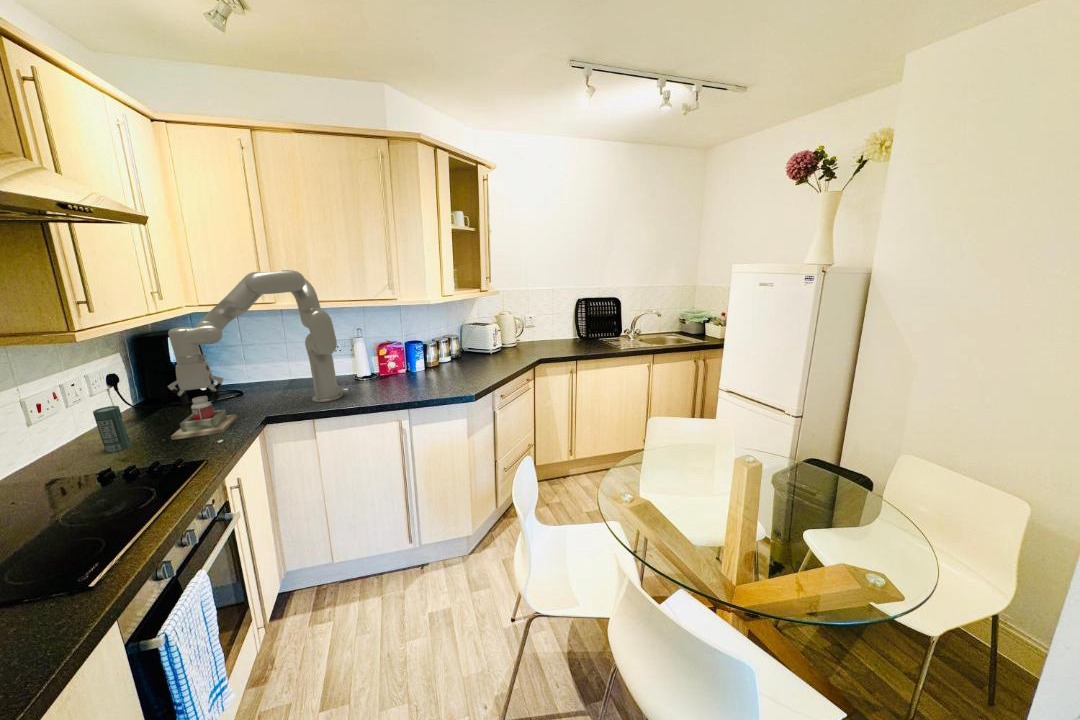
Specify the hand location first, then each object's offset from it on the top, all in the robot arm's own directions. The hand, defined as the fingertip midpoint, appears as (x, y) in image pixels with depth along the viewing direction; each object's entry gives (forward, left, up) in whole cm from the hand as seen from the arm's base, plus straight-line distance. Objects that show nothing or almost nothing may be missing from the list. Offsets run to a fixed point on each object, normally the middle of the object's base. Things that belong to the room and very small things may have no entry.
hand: (201, 402), depth 159 cm
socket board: (+1, 0, -11) cm, 11 cm away
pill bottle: (0, 0, -9) cm, 9 cm away
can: (+24, +9, -11) cm, 27 cm away
